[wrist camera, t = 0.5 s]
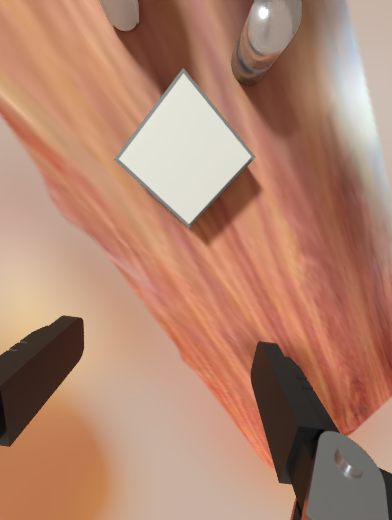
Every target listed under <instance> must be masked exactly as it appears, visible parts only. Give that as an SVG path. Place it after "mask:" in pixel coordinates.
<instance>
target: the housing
mask: <svg viewBox="0 0 392 520" xmlns="http://www.w3.org/2000/svg"><path fill="white" fill-rule="evenodd" d="M301 17H302V1H301V0H254V3H253V5H252V8H251V10H250V13H249V15H248V18H247V20H246V22H245V25H244V27H243V30H242V32H241V35H240V37H239V40H238V42H237V45H236V47H235V50H234V52H233V55H232V61H231V66H232V71H233V74H234V76H235V78H236V79H237V81H238V82H240V83H241V84H243V85H247V86H250V85H254V84H256V83H258V82H259V81H260V80H261V79H262V77H263V76H264V75H265V74H266V72H267V71H268V70H269V68H270V67H271V66H272V64H273V63H274V62H275V61H276V59H277V58H278V57H279V55H280V54H281V53H282V51H283V50H284V49H285V48H286V46H287V45H288V44H289V42H290V41H291V40H292V39H293V37H294V36H295V34H296V32H297V30H298V28H299V25H300V22H301Z"/></svg>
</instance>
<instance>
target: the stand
mask: <svg viewBox="0 0 392 520" xmlns="http://www.w3.org/2000/svg"><path fill="white" fill-rule="evenodd" d="M254 158H255V156H254V155H253V154H252V152H251V151H250V150H249V149H248V147H247V146H246V145H245V144H244V142H243V141H242V140H241V139H240V137H239V136H238V135H237V134H236V133H235V131H234V130H233V129H232V128H231V126H230V125H229V124H228V123H227V121H226V120H225V119H224V118H223V116H222V115H221V114H220V113H219V111H218V110H217V109H216V108H215V107H214V105H213V104H212V103H211V102H210V100H209V99H208V98H207V97H206V95H205V94H204V93H203V92H202V90H201V89H200V88H199V87H198V85H197V84H196V83H195V82H194V81H193V79H192V78H191V77H190V76H189V74H188V73H187V72H186V71H185V69H184V68H183V69H182V70H181V71H180V73H179V74H178V75H177V77H176V78H175V79H174V81H173V82H172V83H171V85H170V86H169V87H168V89H167V90H166V91H165V93H164V94H163V95H162V97H161V98H160V99H159V101H158V102H157V103H156V105H155V106H154V107H153V109H152V110H151V111H150V112H149V114H148V115H147V116H146V118H145V119H144V120H143V122H142V123H141V124H140V126H139V127H138V128H137V130H136V131H135V132H134V134H133V135H132V136H131V138H130V139H129V140H128V142H127V143H126V144H125V146H124V147H123V148H122V150H121V151H120V152H119V154H118V155H117V156H116V158H115V159H114V160H115V161H116V162H117V163H118V164H119V165H121V166H122V167H123V168H124V169H125V170H126V171H127V172H128V173H129V174H130V175H131V176H132V177H134V178H135V179H136V180H137V181H138V182H139V183H140V184H141V185H142V186H143V187H144V188H146V189H147V190H148V191H149V192H150V193H151V194H152V195H153V196H154V197H155V198H156V199H157V200H159V201H160V202H161V203H162V204H163V205H164V206H165V207H166V208H167V209H168V210H169V211H171V212H172V213H173V214H174V215H175V216H176V217H177V218H178V219H179V220H180V221H181V222H183V223H184V224H185V225H186V226H187V227H188V228H190V227H191V226H192V225H193V224H194V223H195V222H196V220H197V219H198V218H199V217H200V216H201V215H202V214H203V213H204V212H205V211H206V210H207V209H208V208H209V207H210V205H211V204H212V203H213V202H214V201H215V200H216V199H217V198H218V197H219V196H220V195H221V194H222V193H223V192H224V190H225V189H226V188H227V187H228V186H229V185H230V184H231V183H232V182H233V181H234V180H235V179H236V178H237V177H238V176H239V174H240V173H241V172H242V171H243V170H244V169H245V168H246V167H247V166H248V165H249V164H250V163H251V162H252V161H253V159H254Z"/></svg>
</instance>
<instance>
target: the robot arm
mask: <svg viewBox="0 0 392 520" xmlns="http://www.w3.org/2000/svg"><path fill="white" fill-rule="evenodd" d="M83 350H84V326H83V319H82V318H79V317H71V316H61V317H60V318H59V319H57V320H56V321H55V322H54V323H52V324H51V325H49V326H45V327H43V328H40V329H38V330H36V331H34V332H32V333H31V334H29V335H28V336H27V337H25V338H24V339H22V340H21V341H20V343H17V344H15V345H14V346H13V347H11V348H10V350H9V351H6V352H4V353H3V354H2V355H0V445H1V446H9V447H10V446H11V444H12V443H13V442H14V441H15V440H16V438H17V437H18V436H19V435H20V434H21V432H22V431H23V430H24V428H25V427H26V426H27V425H28V424H29V422H30V421H31V420H32V419H33V417H34V416H35V415H36V414H37V413H38V411H39V410H40V409H41V408H42V406H43V405H44V404H45V403H46V401H47V400H48V399H49V398H50V396H51V395H52V394H53V393H54V391H55V390H56V389H57V388H58V386H59V385H60V384H61V383H62V382H63V380H64V379H65V378H66V377H67V375H68V374H69V373H70V372H71V371H72V369H73V368H74V367H75V366H76V364H77V363H78V362H79V360H80V358H81V356H82V354H83ZM251 383H252V387H253V391H254V395H255V398H256V402H257V405H258V409H259V413H260V416H261V420H262V423H263V427H264V430H265V434H266V438H267V441H268V445H269V448H270V452H271V455H272V459H273V463H274V466H275V470H276V473H277V477H278V481H279V483H284V484H292V486H293V489H294V492H295V495H296V499H295V502H294V505H293V510H292V514H291V519H290V520H392V474H391V473H389V472H387V471H385V470H382V469H380V468H378V467H377V465H376V464H375V462H374V461H373V460H372V458H371V457H370V456H369V455H368V454H367V453H366V451H365V450H363V449H362V448H361V447H360V446H359V445H358V444H357V443H355V442H354V441H353V440H351V439H350V438H348V437H346V436H345V435H342V434H340V432H339V431H338V429H337V427H336V426H335V424H334V423H333V421H332V419H331V418H330V416H329V414H328V413H327V411H326V409H325V408H324V406H323V405H322V403H321V401H320V400H319V398H318V396H317V395H316V393H315V391H313V388H312V387H311V385H310V383H309V382H308V381H307V378H306V377H305V375H304V374H303V372H302V370H301V369H300V367H299V366H298V365H297V364H296V363H295V362H294V361H293V360H292V359H290V358H289V357H284V355H283V353H282V351H281V349H280V348H279V346H278V344H276V343H269V342H261V341H259V342H258V344H257V347H256V352H255V356H254V360H253V364H252V368H251Z"/></svg>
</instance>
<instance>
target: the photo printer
mask: <svg viewBox="0 0 392 520" xmlns="http://www.w3.org/2000/svg"><path fill="white" fill-rule="evenodd" d="M99 1H100V3H101V5H102V8H103V10H104V12H105V14H106V17H107V19H108V21H109V23H110V24H111V25H114V26H115V27H116V28H117V29H119V30H121V31H130V30H132V29H133V28H134V27H135V26H136V23H139V5H138V0H99Z"/></svg>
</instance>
